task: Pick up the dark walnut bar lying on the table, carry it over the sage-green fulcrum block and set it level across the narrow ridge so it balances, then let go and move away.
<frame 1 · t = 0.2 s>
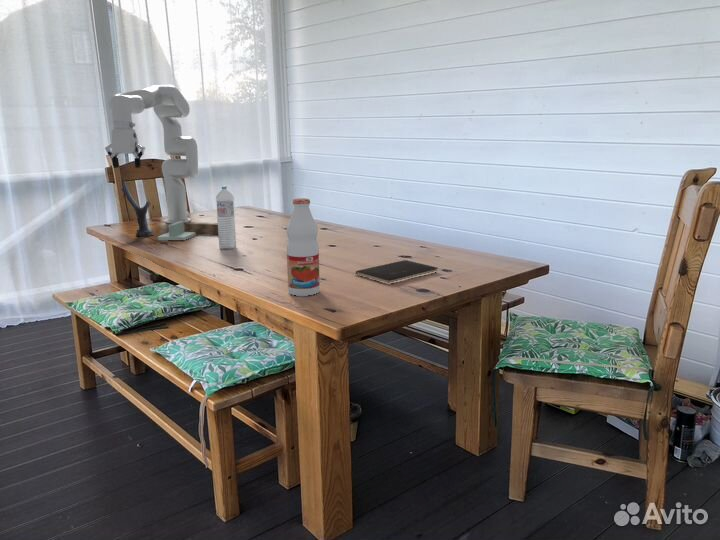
hand: (127, 167, 246), 31 cm above the table, tool pointing down, fingers open, 9 cm apart
fruit juice: (304, 293, 174), on the table
walnut bar: (204, 234, 266), on the table
fulcrum block: (177, 237, 256), on the table
water bottle: (227, 248, 235), on the table
hardcover book: (397, 276, 195), on the table
antler: (140, 236, 260), on the table
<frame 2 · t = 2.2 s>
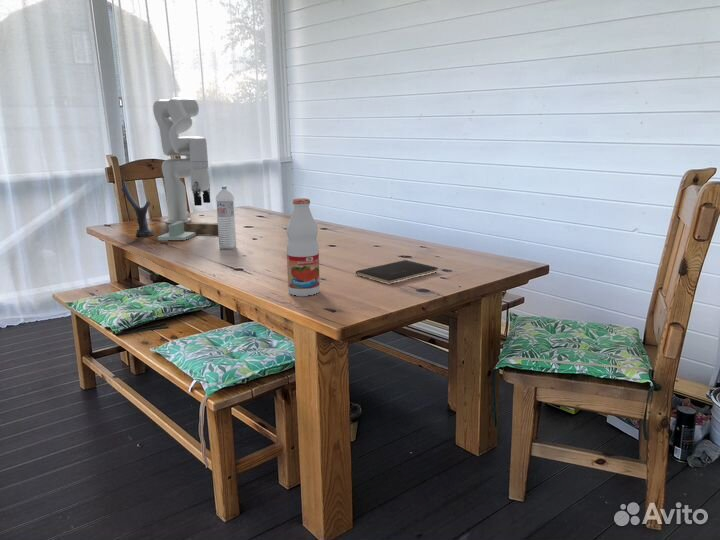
hand: (202, 204, 262), 14 cm above the table, tool pointing down, fingers open, 9 cm apart
nothing on the table moved.
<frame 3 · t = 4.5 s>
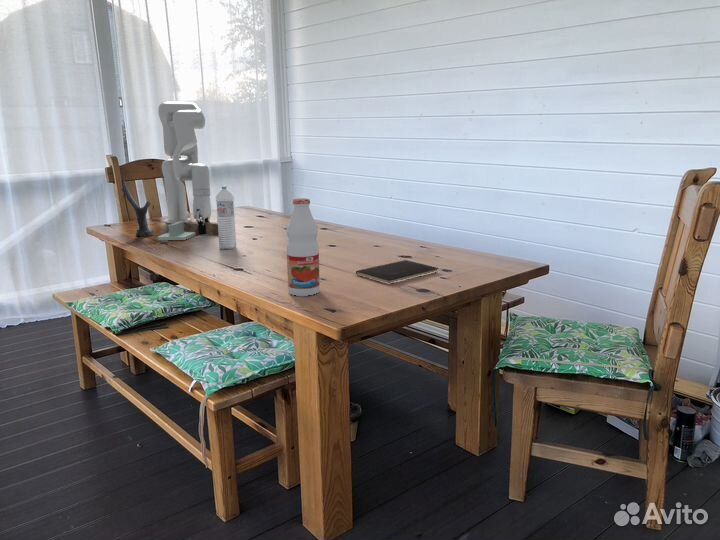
hand: (204, 232, 265), 0 cm above the table, tool pointing down, fingers closed on walnut bar, 4 cm apart
walnut bar: (204, 233, 265), on the table, touching gripper
everything else where it was.
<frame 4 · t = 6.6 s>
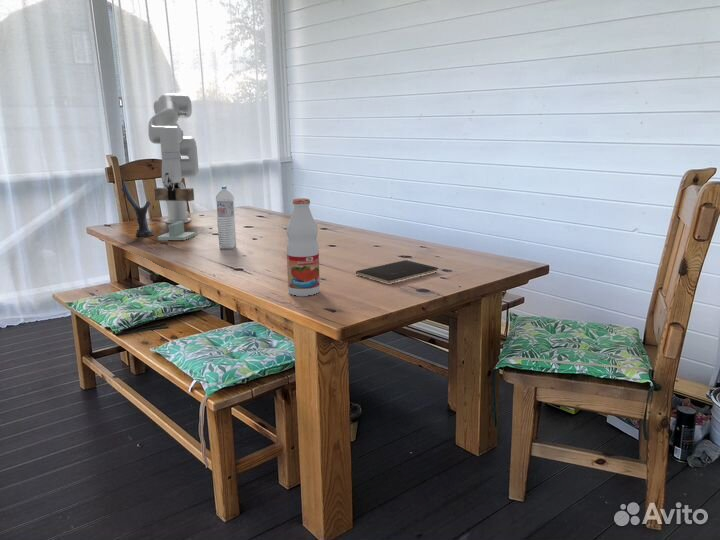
hand: (174, 198, 252), 17 cm above the table, tool pointing down, fingers closed on walnut bar, 4 cm apart
walnut bar: (174, 200, 252), point 17 cm above the table, touching gripper
everything else where it was.
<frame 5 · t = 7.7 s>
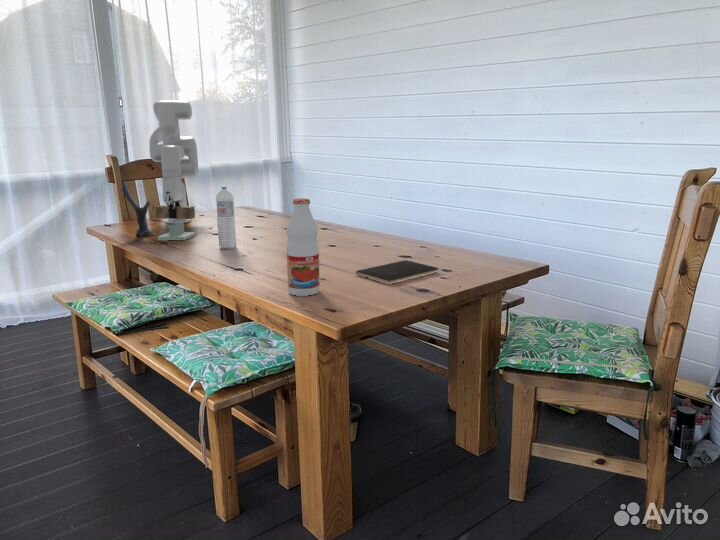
hand: (175, 216, 254), 9 cm above the table, tool pointing down, fingers closed on walnut bar, 4 cm apart
walnut bar: (175, 217, 254), point 9 cm above the table, touching gripper
everything else where it was.
when the fingers open (7 cm above the table, at t = 8.7 s): walnut bar stays where it is, resting on fulcrum block.
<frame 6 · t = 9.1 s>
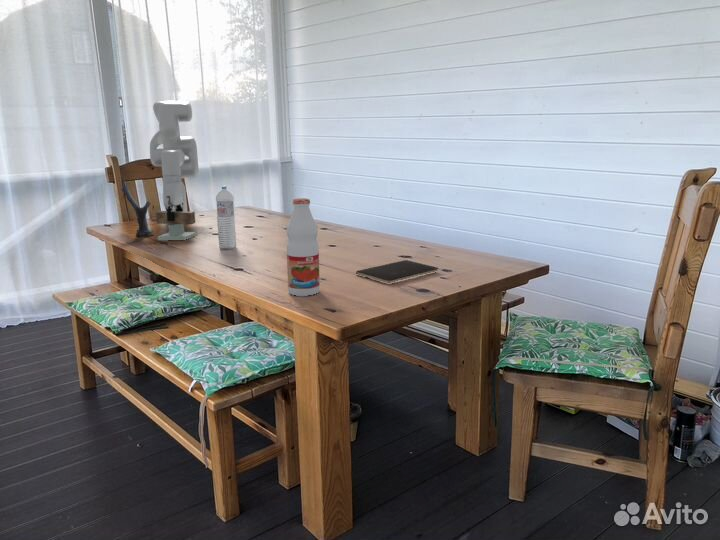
hand: (175, 219, 254), 8 cm above the table, tool pointing down, fingers open, 8 cm apart
walnut bar: (176, 223, 254), point 6 cm above the table, touching fulcrum block
everything else where it was.
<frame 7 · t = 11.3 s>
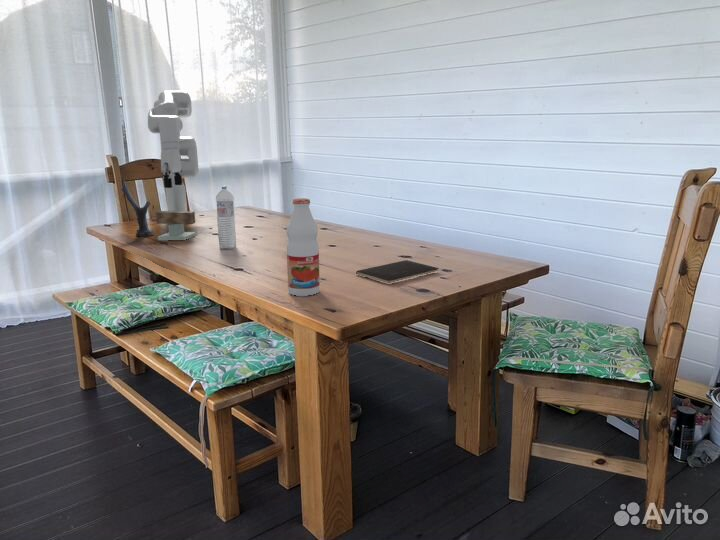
hand: (173, 186, 252), 22 cm above the table, tool pointing down, fingers open, 9 cm apart
nothing on the table moved.
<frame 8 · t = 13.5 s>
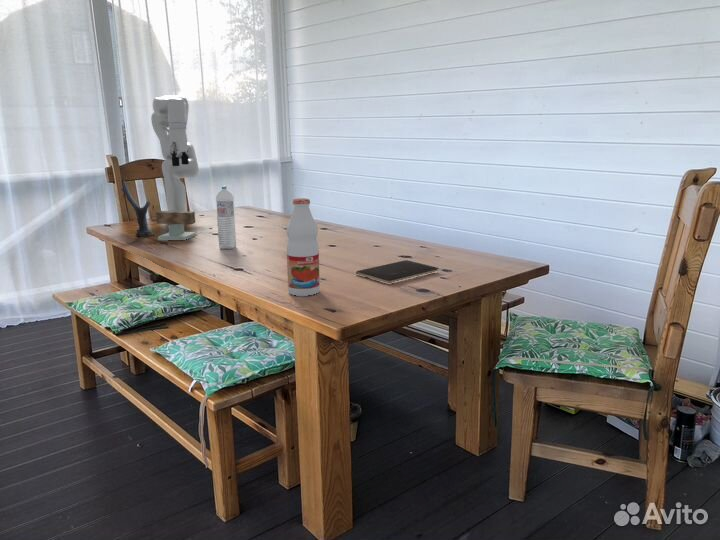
hand: (180, 165, 266), 30 cm above the table, tool pointing down, fingers open, 9 cm apart
nothing on the table moved.
at the end: walnut bar point 6.5 cm above the table; walnut bar tilted 0°; walnut bar 0.1 cm from the fulcrum block (horizontally) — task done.
